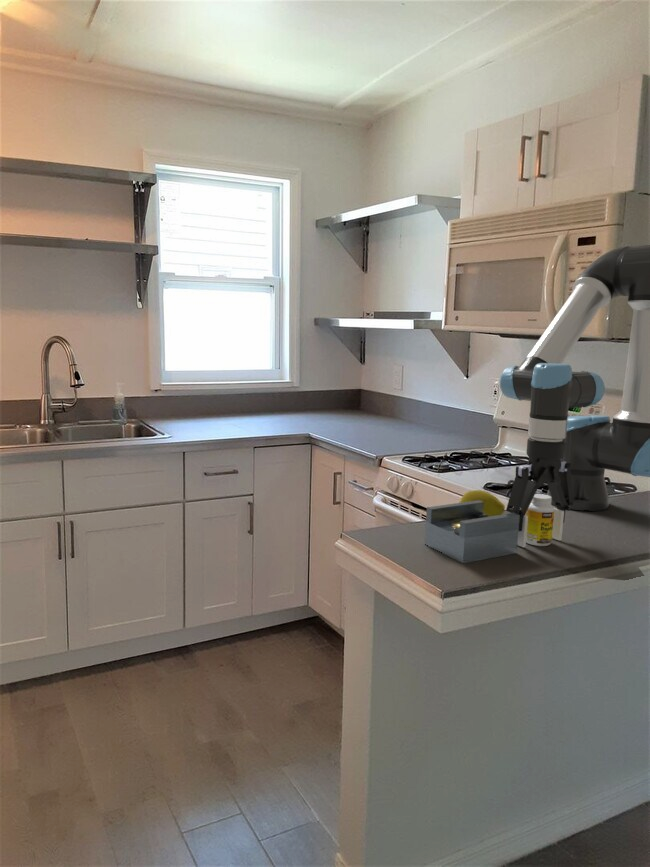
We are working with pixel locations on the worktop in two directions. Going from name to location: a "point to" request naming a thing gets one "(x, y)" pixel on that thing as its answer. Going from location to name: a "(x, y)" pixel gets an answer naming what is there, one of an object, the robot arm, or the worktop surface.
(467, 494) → the lemon
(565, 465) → the robot arm
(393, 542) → the worktop surface
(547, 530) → the supplement bottle
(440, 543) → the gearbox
